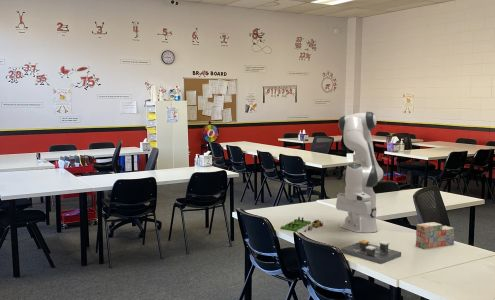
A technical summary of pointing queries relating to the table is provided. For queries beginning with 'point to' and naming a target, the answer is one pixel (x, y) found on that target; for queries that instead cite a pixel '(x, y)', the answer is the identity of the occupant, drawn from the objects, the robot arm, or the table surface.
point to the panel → (378, 257)
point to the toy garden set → (301, 225)
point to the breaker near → (370, 250)
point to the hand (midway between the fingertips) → (352, 220)
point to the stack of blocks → (434, 235)
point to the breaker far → (383, 245)
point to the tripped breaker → (363, 244)
